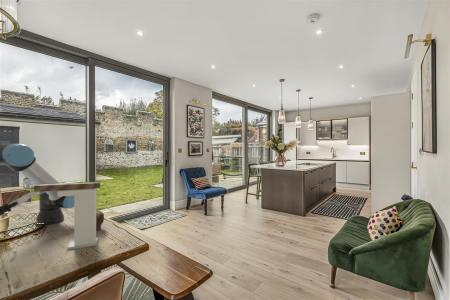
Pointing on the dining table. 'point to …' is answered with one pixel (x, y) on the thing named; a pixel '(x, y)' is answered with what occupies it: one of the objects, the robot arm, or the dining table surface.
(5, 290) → the dining table surface
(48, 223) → the robot arm
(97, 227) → the shell
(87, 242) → the white upright panel
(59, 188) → the lever
